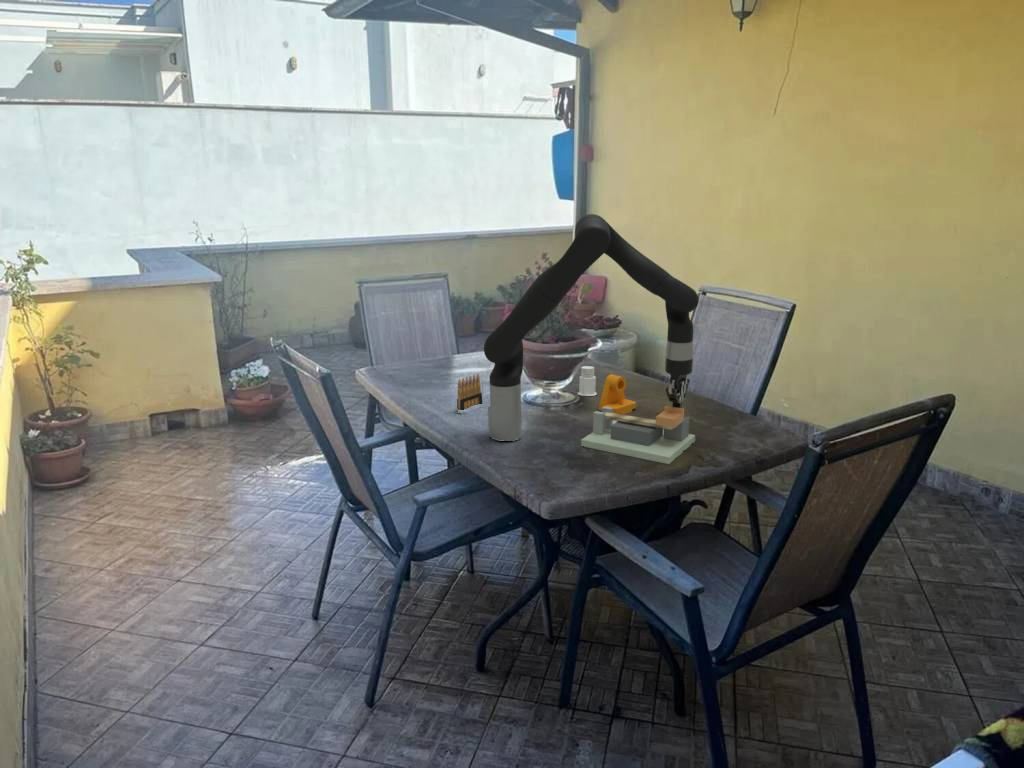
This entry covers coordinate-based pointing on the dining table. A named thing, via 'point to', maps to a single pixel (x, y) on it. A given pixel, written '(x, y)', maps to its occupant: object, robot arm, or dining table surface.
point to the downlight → (587, 381)
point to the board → (638, 450)
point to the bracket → (616, 395)
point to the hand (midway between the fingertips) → (676, 414)
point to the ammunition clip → (469, 393)
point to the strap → (633, 420)
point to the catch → (670, 417)
